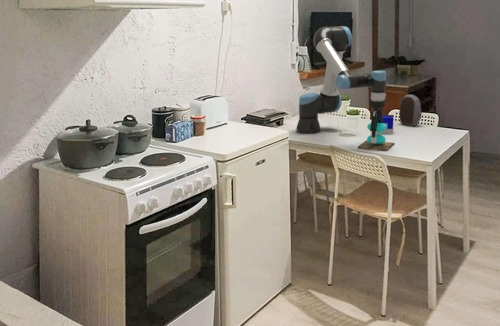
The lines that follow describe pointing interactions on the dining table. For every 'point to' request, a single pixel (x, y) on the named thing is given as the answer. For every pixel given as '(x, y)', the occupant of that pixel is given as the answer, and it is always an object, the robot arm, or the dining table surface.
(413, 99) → the soft grey pack
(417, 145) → the dining table surface
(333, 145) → the dining table surface
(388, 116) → the puzzle toy
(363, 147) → the walnut board
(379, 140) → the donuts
